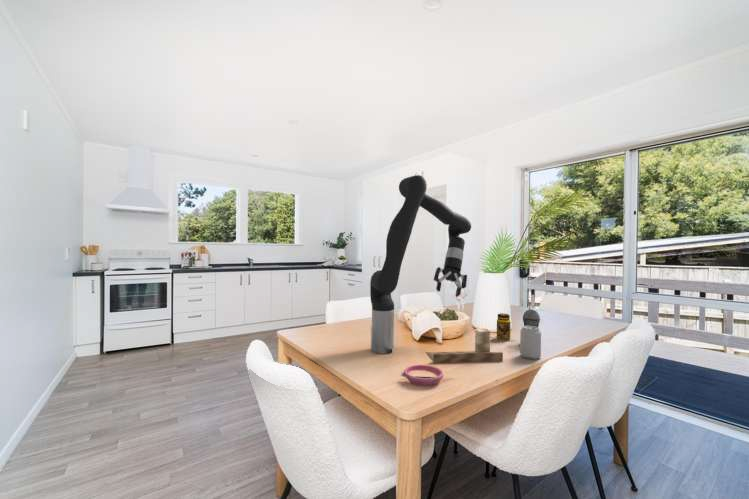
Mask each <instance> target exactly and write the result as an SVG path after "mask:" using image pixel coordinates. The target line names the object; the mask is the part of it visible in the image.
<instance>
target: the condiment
mask: <svg viewBox="0 0 749 499" xmlns="http://www.w3.org/2000/svg"><path fill="white" fill-rule="evenodd" d="M510 318H511V317H510V314H509V313H501V312H500V313H498V314H497V319H496V336H490V339H495V340H497V341H500V342H511V341H514V339H513V338H511V320H510Z"/></svg>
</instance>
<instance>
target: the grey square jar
mask: <svg viewBox="0 0 749 499" xmlns="http://www.w3.org/2000/svg"><path fill="white" fill-rule="evenodd" d="M519 334H520V339H519V342H520V344H519V348H520V349H519V354H520V355H521V356H522V357H523V358H525V359H528V360H538V359H539V358H541V355H542V331H541V330H540V327H539V326H538V327H535V326H524V325H522V328H521V329H520V332H519Z"/></svg>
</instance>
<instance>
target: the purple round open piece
mask: <svg viewBox="0 0 749 499" xmlns="http://www.w3.org/2000/svg"><path fill="white" fill-rule="evenodd" d="M421 370H422V371H423V370H424V371H425V370H426V371H429V372H433V373H436V374H437V376H415V375H411V374H409V373H410V372H412V371H421ZM403 374H404V376H405V378H406V379H407V380H408V381H409V382H410V383H411V384H413V385H415V386H419V387H431V386H436V385H437V384H438V383H439V382H440V381H441V380H442V379H443V377H444V372H443V370H442V369H440V368H439V367H436V366H433V365H427V364H413V365H409V366H407V367H406V368H405V369H404V372H403Z"/></svg>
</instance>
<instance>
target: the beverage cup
mask: <svg viewBox="0 0 749 499" xmlns="http://www.w3.org/2000/svg"><path fill="white" fill-rule="evenodd" d="M530 302H531V301H530V299H528V302H527V303H528V308H529V309H527V310H525V312H523V315H522V321H523V326H535V327H538V328H539V325H540V322H541V321H540V320H541V317H540V315H539V313H538V311H537V310H535V309H531V303H530Z"/></svg>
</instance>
